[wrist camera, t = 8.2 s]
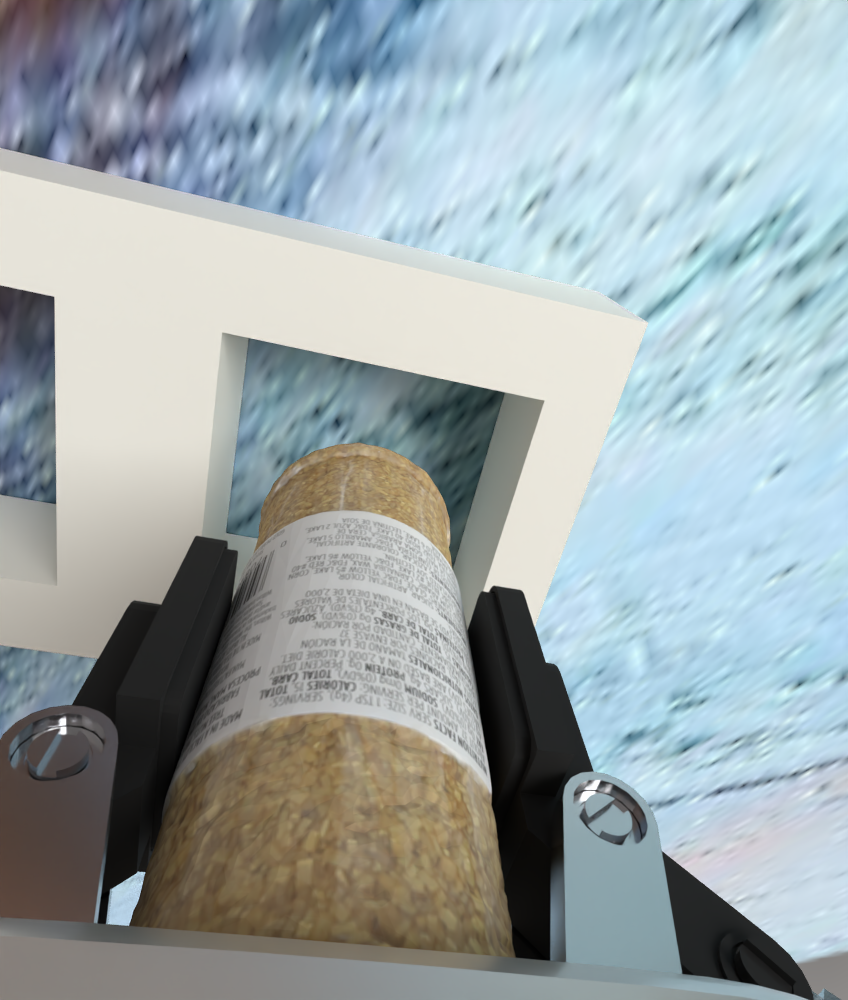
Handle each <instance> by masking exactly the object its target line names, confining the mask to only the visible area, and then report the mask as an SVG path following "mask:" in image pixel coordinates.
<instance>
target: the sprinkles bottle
mask: <svg viewBox="0 0 848 1000" xmlns="http://www.w3.org/2000/svg"><path fill="white" fill-rule="evenodd" d="M449 545H450V520H449V516H448V512H447V508H446V505H445V502H444V500H443V498H442V496H441V494H440V492H439V491H438V489H437V487H436V486H435V484H434V483H433V481H432V480H431V478H430V477H429V475H428V474H427V473H426V471H424V470H423V469H421V468H420V467H418V466H417V465H415V464H413V463H412V462H411V461H410V460H408V459H407V458H405V457H403V456H401V455H399V454H397V453H395V452H393V451H391V450H388V449H386V448H382V447H378V446H372V445H366V444H362V443H353V444H340V445H335V446H331V447H328V448H325V449H320V450H317V451H314V452H312V453H310V454H309V455H307V456H305V457H303V458H300V459H299V460H297V461H296V462H294V463H293V464H292V465H290V466H289V467H288V468H287V469H286V470H285V471H284V472H283V474H282V475H281V476H280V477H279V478H278V479H277V480H276V481H275V483H274V484H273V486H272V488H271V491H270V493H269V494H268V496H267V497H266V499H265V501H264V504H263V507H262V509H261V521H260V525H259V537H258V540H257V544H256V547H255V550H254V553H253V555H252V557H251V558H250V559H249V561H248V563H247V564H246V566H245V568H244V570H243V572H242V575H241V578H240V581H239V584H238V587H237V590H236V592H235V595H234V598H233V601H232V604H231V607H230V610H229V613H228V615H227V618H226V621H225V624H224V627H223V630H222V633H221V636H220V639H219V642H218V645H217V648H216V651H215V654H214V657H213V660H212V663H211V666H210V669H209V672H208V675H207V678H206V680H205V683H204V686H203V689H202V692H201V695H200V698H199V701H198V704H197V707H196V710H195V713H194V716H193V719H192V722H191V725H190V728H189V731H188V734H187V737H186V740H185V743H184V746H183V749H182V752H181V754H180V757H179V760H178V763H177V766H176V769H175V772H174V774H173V777H172V780H171V783H170V786H169V789H168V791H167V794H166V798H165V803H164V807H163V812H162V825H161V828H160V831H159V834H158V837H157V840H156V844H155V847H154V850H153V852H152V855H151V858H150V860H149V864H148V867H147V870H146V873H145V877H144V881H143V886H142V890H141V894H140V897H139V901H138V903H137V905H136V907H135V909H134V911H133V915H132V919H131V922H130V925H129V926H135V927H148V928H161V929H174V930H187V931H200V932H213V933H225V934H238V935H251V936H264V937H276V938H288V939H300V940H312V941H324V942H336V943H348V944H361V945H372V946H384V947H396V948H408V949H420V950H432V951H444V952H455V953H467V954H478V955H489V956H500V957H512V958H516V956H515V952H514V948H513V944H512V926H511V919H510V916H509V912H508V905H507V896H506V894H505V892H504V878H503V873H502V869H501V858H500V853H499V847H498V839H497V829H496V821H495V817H494V813H493V809H492V806H491V802H492V787H491V779H490V772H489V766H488V759H487V754H486V749H485V742H484V735H483V729H482V723H481V718H480V700H479V695H478V689H477V684H476V678H475V672H474V666H473V660H472V655H471V649H470V644H469V638H468V633H467V627H466V621H465V616H464V610H463V604H462V599H461V593H460V589H459V585H458V582H457V579H456V576H455V574H454V571H453V570H452V563H451V555H450V551H449Z"/></svg>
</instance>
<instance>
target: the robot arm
mask: <svg viewBox="0 0 848 1000" xmlns="http://www.w3.org/2000/svg"><path fill="white" fill-rule="evenodd" d="M237 558H238V551H237V550H231V549H228V542H227V541H226V540H220V539H214V538H208V537H202V536H195V538H194V540H193V542H192V544H191V546H190V548H189V550H188V552H187V554H186V556H185V558H184V560H183V562H182V564H181V566H180V568H179V570H178V572H177V574H176V576H175V578H174V580H173V582H172V584H171V586H170V588H169V590H168V592H167V594H166V596H165V598H164V600H163V602H162V604H155V603H149V602H142V601H136V600H134V601H132V602H131V603H130V604H129V606H128V607H127V609H126V611H125V612H124V614H123V616H122V618H121V620H120V621H119V623H118V625H117V627H116V628H115V630H114V632H113V634H112V635H111V637H110V639H109V641H108V642H107V644H106V646H105V648H104V649H103V651H102V653H101V655H100V656H99V658H98V660H97V662H96V663H95V665H94V667H93V669H92V670H91V672H90V674H89V676H88V678H87V679H86V681H85V683H84V685H83V686H82V688H81V690H80V692H79V693H78V695H77V697H76V699H75V700H74V702H73V704H72V705H65V706H58V707H50V708H47V709H44V710H41V711H38V712H35V713H32V714H30V715H28V716H27V717H25V718H23V719H21V720H20V721H18V722H16V723H15V724H14V725H13V726H12V727H11V728H10V729H9V730H8V731H7V732H5V733H4V734H3V736H2V738H1V739H0V1000H841V999H839V998H838V997H836V996H835V995H833V994H832V993H830V992H829V991H827V990H826V989H823V990H822V992H821V993H820V994H819V995H817V994H816V993H814V992H813V991H812V990H811V988H810V986H809V984H808V982H807V980H806V978H805V976H804V974H803V972H802V970H801V969H800V968H799V967H798V965H797V964H796V963H795V961H794V960H793V959H792V957H791V956H790V955H789V954H788V953H787V952H786V951H785V950H784V949H783V948H782V947H781V946H780V945H779V944H778V943H777V942H776V941H774V940H773V939H772V938H771V937H769V936H768V935H767V934H766V933H764V932H763V931H762V930H761V929H759V928H758V927H757V926H756V925H754V924H753V923H752V922H751V921H749V920H748V919H747V918H746V917H744V916H743V915H742V914H740V913H739V912H738V911H737V910H735V909H734V908H733V907H732V906H730V905H729V904H728V903H727V902H725V901H724V900H723V899H722V898H720V897H719V896H718V895H717V894H715V893H714V892H713V891H712V890H710V889H709V888H708V887H706V886H705V885H704V884H703V883H701V882H700V881H699V880H698V879H696V878H695V877H694V876H693V875H691V874H690V873H689V872H688V871H686V870H685V869H684V868H683V867H681V866H680V865H679V864H677V863H676V862H675V861H674V860H672V859H671V858H670V857H669V856H667V855H666V854H665V853H664V852H662V850H661V844H660V838H659V832H658V826H657V823H656V820H655V817H654V814H653V812H652V810H651V809H650V807H649V806H648V804H647V803H646V801H645V800H644V799H643V798H642V797H641V796H640V795H639V794H638V793H637V792H636V791H635V790H634V789H633V788H631V787H630V786H629V785H627V784H626V783H624V782H623V781H621V780H619V779H617V778H615V777H612V776H610V775H608V774H603V773H598V772H594V771H593V768H592V765H591V763H590V760H589V757H588V754H587V751H586V748H585V745H584V742H583V739H582V736H581V733H580V730H579V727H578V724H577V721H576V718H575V715H574V712H573V709H572V706H571V703H570V700H569V697H568V694H567V691H566V688H565V685H564V682H563V679H562V676H561V673H560V671H559V669H558V667H557V666H556V665H554V664H551V663H546V662H545V659H544V656H543V652H542V649H541V646H540V643H539V640H538V637H537V633H536V630H535V627H534V624H533V621H532V617H531V614H530V611H529V608H528V605H527V602H526V598H525V595H524V593H523V591H522V590H518V589H512V588H506V587H500V586H492V587H491V589H490V591H489V592H485V591H482V592H481V593H480V594H479V597H478V599H477V602H476V606H475V609H474V612H473V615H472V618H471V621H470V624H469V627H468V630H467V633H468V638H469V644H470V649H471V655H472V660H473V666H474V672H475V678H476V684H477V689H478V695H479V700H480V718H481V723H482V729H483V735H484V742H485V749H486V754H487V759H488V766H489V772H490V779H491V787H492V802H491V806H492V809H493V813H494V817H495V821H496V829H497V839H498V847H499V853H500V858H501V869H502V873H503V878H504V892H505V894H506V896H507V905H508V912H509V916H510V919H511V926H512V944H513V948H514V952H515V956H516V958H512V957H500V956H489V955H478V954H467V953H455V952H444V951H432V950H420V949H408V948H396V947H384V946H372V945H361V944H348V943H336V942H324V941H312V940H300V939H288V938H276V937H264V936H251V935H238V934H225V933H213V932H200V931H187V930H174V929H161V928H148V927H135V926H122V925H110V924H108V921H109V912H110V904H111V895H112V888H114V887H115V886H117V885H118V884H120V883H122V882H123V881H125V880H126V879H128V878H130V877H131V876H133V875H134V874H136V873H137V871H139V872H146V870H147V867H148V864H149V860H150V858H151V855H152V852H153V850H154V847H155V844H156V840H157V837H158V834H159V831H160V828H161V825H162V812H163V807H164V803H165V798H166V794H167V791H168V789H169V786H170V783H171V780H172V777H173V774H174V772H175V769H176V766H177V763H178V760H179V757H180V754H181V752H182V749H183V746H184V743H185V740H186V737H187V734H188V731H189V728H190V725H191V722H192V719H193V716H194V713H195V710H196V707H197V704H198V701H199V698H200V695H201V692H202V689H203V686H204V683H205V680H206V678H207V675H208V672H209V669H210V666H211V663H212V660H213V657H214V654H215V651H216V648H217V645H218V642H219V639H220V636H221V633H222V630H223V627H224V624H225V621H226V618H227V615H228V613H229V610H230V607H231V604H232V598H233V590H234V582H235V574H236V566H237Z"/></svg>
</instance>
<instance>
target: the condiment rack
mask: <svg viewBox="0 0 848 1000" xmlns="http://www.w3.org/2000/svg"><path fill="white" fill-rule="evenodd" d="M0 285H2V286H6V287H11V288H16V289H20V290H25V291H30V292H35V293H39V294H44V295H49V296H53V297H55V403H56V504H52V503H46V502H40V501H34V500H28V499H22V498H16V497H10V496H4V495H0V645H2V646H10V647H17V648H24V649H31V650H38V651H46V652H53V653H60V654H67V655H74V656H82V657H89V658H96V659H98V658H99V656H100V655H101V653H102V651H103V649H104V648H105V646H106V644H107V642H108V641H109V639H110V637H111V635H112V634H113V632H114V630H115V628H116V627H117V625H118V623H119V621H120V620H121V618H122V616H123V614H124V612H125V611H126V609H127V607H128V606H129V604H130V603H131V602H132V601H134V600H136V601H142V602H149V603H155V604H162V602H163V600H164V598H165V596H166V594H167V592H168V590H169V588H170V586H171V584H172V582H173V580H174V578H175V576H176V574H177V572H178V570H179V568H180V566H181V564H182V562H183V560H184V558H185V556H186V554H187V552H188V550H189V548H190V546H191V544H192V542H193V540H194V538H195V536H202V537H208V538H214V539H220V540H226V541H227V542H228V549H231V550H237V551H238V558H237V566H236V574H235V582H234V590H233V598H234V595H235V592H236V590H237V587H238V584H239V581H240V578H241V575H242V572H243V570H244V568H245V566H246V564H247V563H248V561H249V559H250V558H251V557H252V555H253V553H254V550H255V547H256V544H257V540H258V538H252V537H246V536H240V535H234V534H229V533H226V529H227V521H228V512H229V503H230V495H231V486H232V478H233V469H234V461H235V452H236V444H237V435H238V427H239V418H240V410H241V401H242V393H243V384H244V376H245V367H246V359H247V350H248V342H249V338H251V339H256V340H261V341H266V342H270V343H275V344H280V345H284V346H289V347H294V348H299V349H303V350H308V351H313V352H317V353H322V354H327V355H332V356H336V357H341V358H346V359H350V360H355V361H360V362H365V363H369V364H374V365H379V366H383V367H388V368H393V369H398V370H402V371H407V372H412V373H416V374H421V375H426V376H431V377H435V378H440V379H445V380H449V381H454V382H459V383H464V384H468V385H473V386H478V387H482V388H487V389H492V390H497V391H501V392H505V394H504V397H503V401H502V404H501V408H500V411H499V414H498V418H497V421H496V425H495V428H494V431H493V435H492V438H491V442H490V445H489V448H488V452H487V455H486V459H485V462H484V465H483V469H482V472H481V476H480V479H479V482H478V486H477V489H476V493H475V496H474V499H473V503H472V506H471V510H470V513H469V516H468V520H467V523H466V527H465V530H464V533H463V537H462V540H461V544H460V547H459V550H458V554H457V557H456V561H455V564H454V567H453V571H454V574H455V576H456V579H457V582H458V585H459V589H460V593H461V599H462V604H463V610H464V616H465V621H466V627H467V630H468V627H469V624H470V621H471V618H472V615H473V612H474V609H475V606H476V602H477V599H478V597H479V594H480V593H481V592H482V591H485V592H489V591H490V589H491V587H492V586H500V587H506V588H512V589H518V590H522V591H523V593H524V595H525V598H526V602H527V605H528V608H529V611H530V614H531V617H532V621H533V624H534V627H535V625H536V622H537V619H538V617H539V614H540V611H541V609H542V606H543V603H544V601H545V598H546V595H547V593H548V590H549V587H550V585H551V582H552V579H553V576H554V574H555V571H556V568H557V566H558V563H559V560H560V558H561V555H562V552H563V550H564V547H565V544H566V542H567V539H568V536H569V534H570V531H571V528H572V526H573V523H574V520H575V518H576V515H577V512H578V510H579V507H580V504H581V501H582V499H583V496H584V493H585V491H586V488H587V485H588V483H589V480H590V477H591V475H592V472H593V469H594V467H595V464H596V461H597V459H598V456H599V453H600V451H601V448H602V445H603V443H604V440H605V437H606V435H607V432H608V429H609V426H610V424H611V421H612V418H613V416H614V413H615V410H616V408H617V405H618V402H619V400H620V397H621V394H622V392H623V389H624V386H625V384H626V381H627V378H628V376H629V373H630V370H631V368H632V365H633V362H634V360H635V357H636V354H637V351H638V349H639V346H640V343H641V341H642V338H643V335H644V333H645V330H646V327H647V325H648V322H646V321H644V320H643V319H641V318H640V317H638V316H636V315H635V314H633V313H632V312H630V311H629V310H627V309H625V308H624V307H622V306H621V305H619V304H617V303H616V302H614V301H613V300H611V299H609V298H608V297H606V296H605V295H603V294H602V293H600V292H598V291H594V290H590V289H586V288H582V287H577V286H573V285H569V284H565V283H561V282H557V281H552V280H548V279H544V278H540V277H536V276H532V275H527V274H523V273H519V272H515V271H511V270H507V269H502V268H498V267H494V266H490V265H486V264H482V263H477V262H473V261H469V260H465V259H461V258H457V257H452V256H448V255H444V254H440V253H436V252H432V251H427V250H423V249H419V248H415V247H411V246H407V245H402V244H398V243H394V242H390V241H386V240H382V239H377V238H373V237H369V236H365V235H361V234H357V233H352V232H348V231H344V230H340V229H336V228H332V227H327V226H323V225H319V224H315V223H311V222H307V221H302V220H298V219H294V218H290V217H286V216H282V215H277V214H273V213H269V212H265V211H261V210H257V209H252V208H248V207H244V206H240V205H236V204H232V203H227V202H223V201H219V200H215V199H211V198H207V197H202V196H198V195H194V194H190V193H186V192H182V191H177V190H173V189H169V188H165V187H161V186H157V185H152V184H148V183H144V182H140V181H136V180H132V179H127V178H123V177H119V176H115V175H111V174H107V173H102V172H98V171H94V170H90V169H86V168H82V167H77V166H73V165H69V164H65V163H61V162H57V161H53V160H48V159H44V158H40V157H36V156H32V155H28V154H23V153H19V152H15V151H11V150H7V149H3V148H0ZM233 598H232V601H233Z"/></svg>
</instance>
